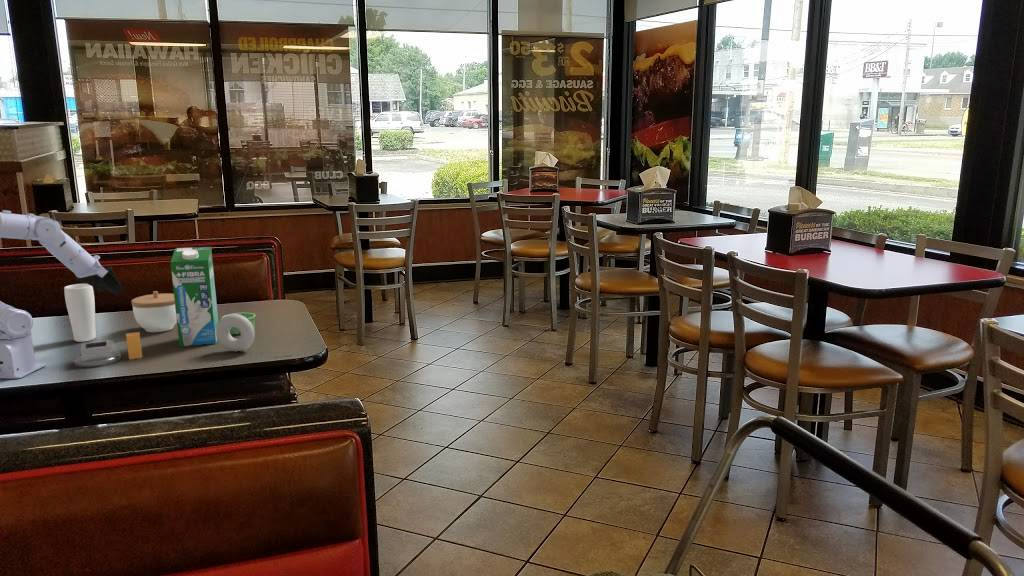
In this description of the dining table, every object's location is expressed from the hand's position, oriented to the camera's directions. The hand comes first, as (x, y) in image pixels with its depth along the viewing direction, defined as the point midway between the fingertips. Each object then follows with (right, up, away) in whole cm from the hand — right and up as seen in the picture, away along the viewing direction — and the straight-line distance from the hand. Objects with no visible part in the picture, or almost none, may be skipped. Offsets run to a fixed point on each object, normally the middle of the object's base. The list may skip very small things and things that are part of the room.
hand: (113, 290), depth 190 cm
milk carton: (+18, -14, +10) cm, 25 cm away
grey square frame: (0, -17, -7) cm, 19 cm away
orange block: (+8, -17, -4) cm, 19 cm away
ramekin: (+25, -12, +19) cm, 34 cm away
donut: (+32, -16, 0) cm, 36 cm away
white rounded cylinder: (-14, -14, +11) cm, 22 cm away
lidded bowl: (+1, -11, +22) cm, 25 cm away
